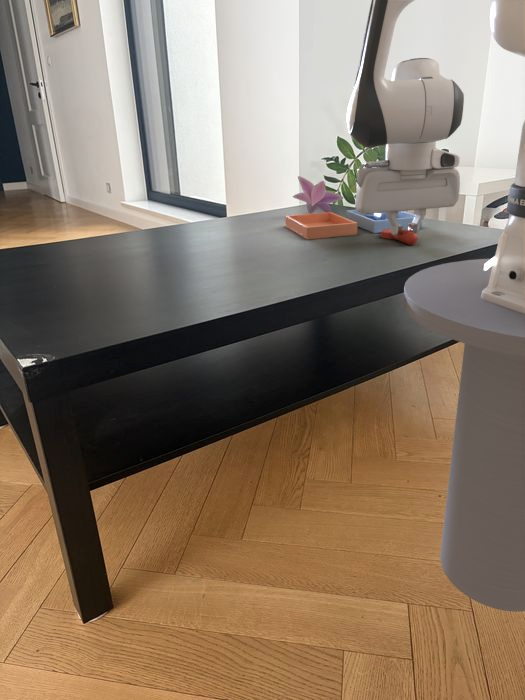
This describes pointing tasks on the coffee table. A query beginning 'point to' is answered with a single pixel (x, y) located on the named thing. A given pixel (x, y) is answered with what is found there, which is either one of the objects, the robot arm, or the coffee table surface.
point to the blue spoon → (377, 216)
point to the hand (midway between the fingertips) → (405, 233)
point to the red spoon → (401, 236)
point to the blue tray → (379, 221)
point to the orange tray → (320, 225)
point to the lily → (316, 196)
